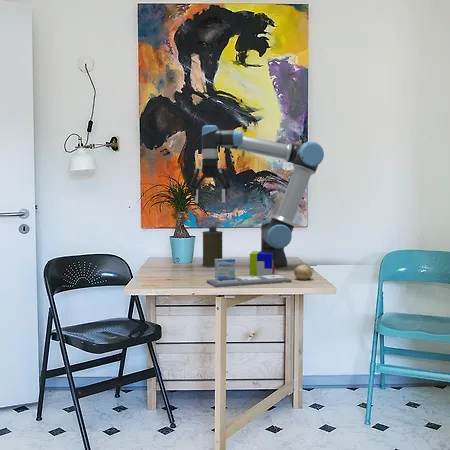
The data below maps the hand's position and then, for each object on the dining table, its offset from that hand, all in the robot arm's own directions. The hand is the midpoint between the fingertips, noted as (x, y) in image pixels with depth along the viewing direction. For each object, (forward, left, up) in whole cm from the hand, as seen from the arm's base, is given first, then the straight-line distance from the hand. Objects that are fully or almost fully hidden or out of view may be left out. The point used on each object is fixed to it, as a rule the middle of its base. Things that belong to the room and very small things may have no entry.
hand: (210, 202), depth 271 cm
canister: (-6, -15, -33) cm, 37 cm away
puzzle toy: (-19, +19, -33) cm, 43 cm away
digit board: (-5, +38, -33) cm, 50 cm away
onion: (-30, +39, -33) cm, 59 cm away
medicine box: (+6, +38, -31) cm, 49 cm away
